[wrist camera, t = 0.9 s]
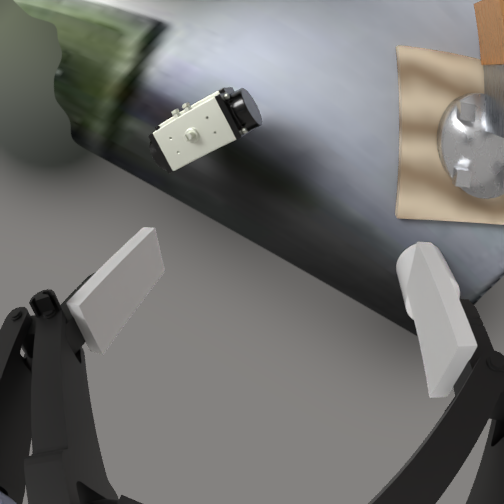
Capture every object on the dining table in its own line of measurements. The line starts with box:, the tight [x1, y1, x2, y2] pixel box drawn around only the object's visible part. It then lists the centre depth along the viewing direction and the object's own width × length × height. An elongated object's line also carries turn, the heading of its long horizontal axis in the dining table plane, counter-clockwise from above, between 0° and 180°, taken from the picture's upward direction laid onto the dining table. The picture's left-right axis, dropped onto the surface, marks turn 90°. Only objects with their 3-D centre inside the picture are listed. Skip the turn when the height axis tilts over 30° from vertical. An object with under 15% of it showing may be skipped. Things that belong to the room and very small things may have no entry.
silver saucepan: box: [437, 0, 504, 199], centre depth 23 cm, size 24×13×8 cm, turn 6°
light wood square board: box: [395, 45, 504, 225], centre depth 30 cm, size 22×22×2 cm
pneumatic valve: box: [149, 87, 262, 174], centre depth 32 cm, size 6×12×12 cm, turn 116°
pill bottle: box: [396, 244, 460, 320], centre depth 36 cm, size 8×8×11 cm
